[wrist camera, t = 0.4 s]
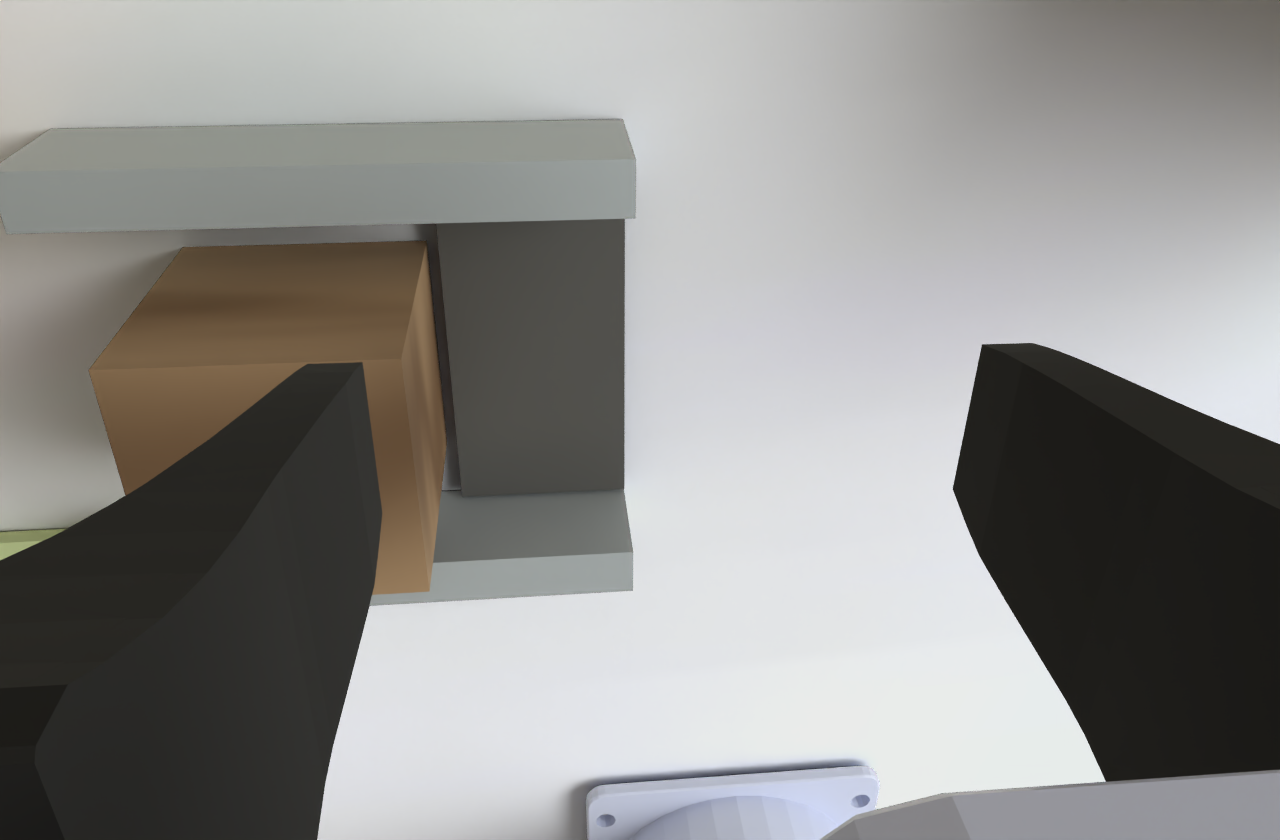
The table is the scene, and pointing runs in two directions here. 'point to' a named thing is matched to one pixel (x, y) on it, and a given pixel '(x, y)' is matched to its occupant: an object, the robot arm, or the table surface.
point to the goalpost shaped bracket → (472, 293)
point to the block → (288, 368)
